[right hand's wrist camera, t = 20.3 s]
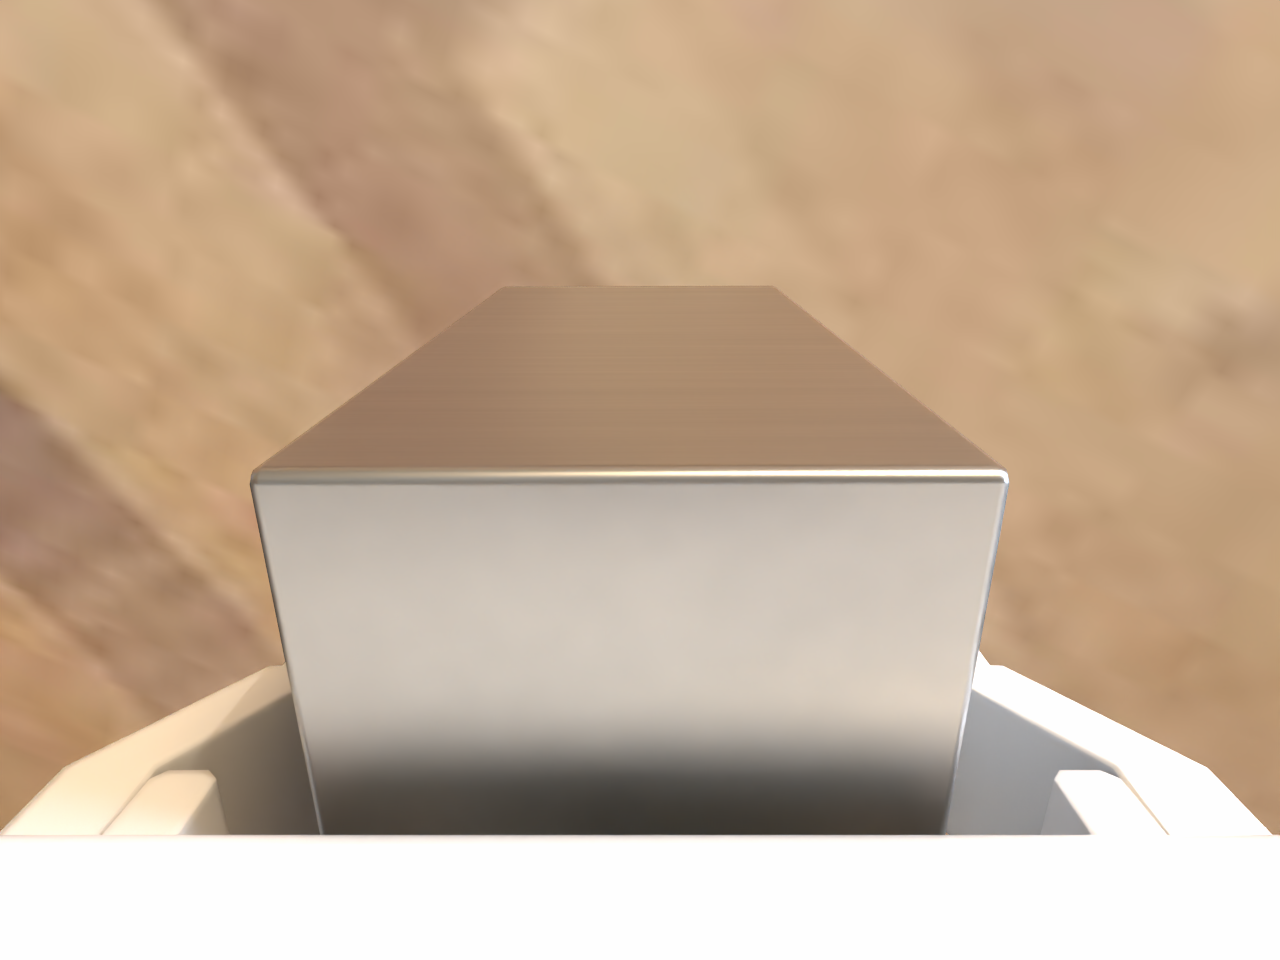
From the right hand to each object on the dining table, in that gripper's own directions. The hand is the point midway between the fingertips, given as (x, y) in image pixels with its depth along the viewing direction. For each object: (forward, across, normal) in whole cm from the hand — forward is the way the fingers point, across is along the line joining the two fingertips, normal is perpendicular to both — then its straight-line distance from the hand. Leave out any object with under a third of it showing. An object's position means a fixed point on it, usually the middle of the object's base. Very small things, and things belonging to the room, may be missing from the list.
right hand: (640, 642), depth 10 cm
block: (+5, 0, 0) cm, 5 cm away
